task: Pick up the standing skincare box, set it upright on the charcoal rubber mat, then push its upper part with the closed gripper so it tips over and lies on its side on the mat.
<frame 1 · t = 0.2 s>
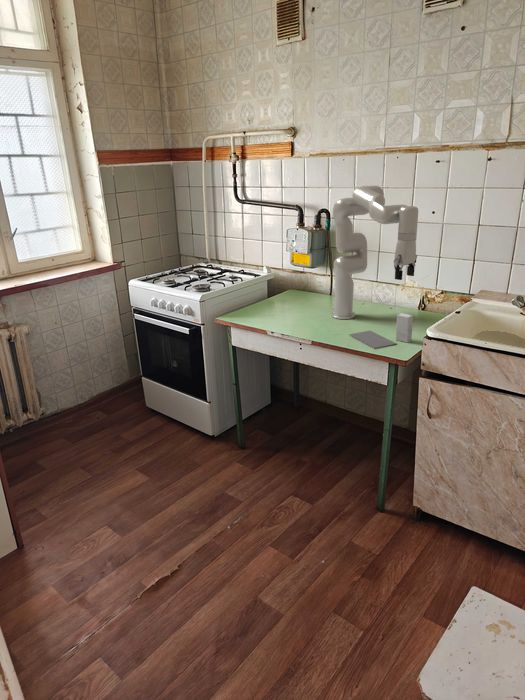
hand: (404, 277, 214), 30 cm above the table, tool pointing down, fingers open, 9 cm apart
mat: (372, 339, 228), on the table
skincare box: (403, 340, 227), on the table
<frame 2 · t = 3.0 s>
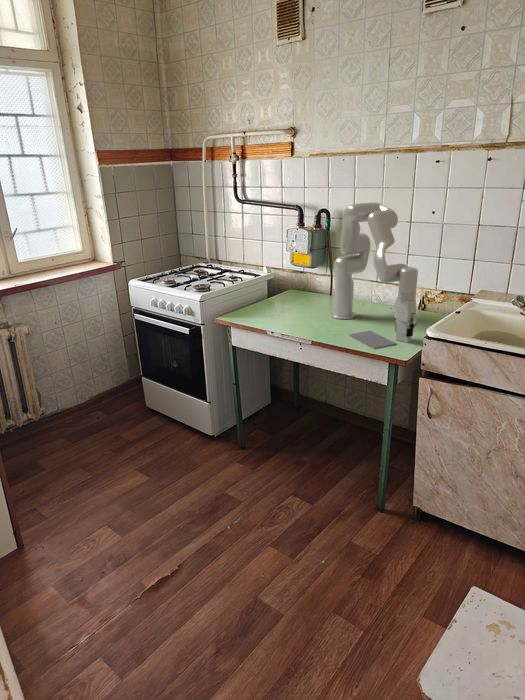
hand: (403, 333, 226), 3 cm above the table, tool pointing down, fingers closed on skincare box, 7 cm apart
skincare box: (403, 340, 227), on the table, touching gripper
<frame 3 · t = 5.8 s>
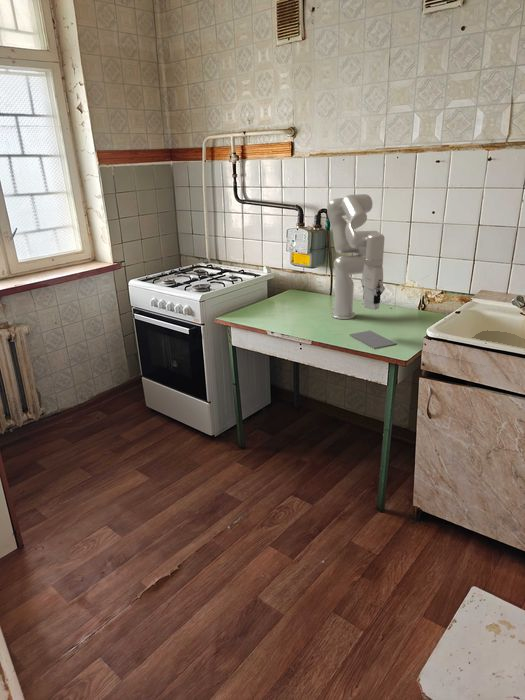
hand: (371, 301, 226), 17 cm above the table, tool pointing down, fingers closed on skincare box, 7 cm apart
skincare box: (370, 308, 228), point 14 cm above the table, touching gripper
when the fingers open (5 cm above the table, at t = 8.9 s): skincare box drops 1 cm, resting on mat.
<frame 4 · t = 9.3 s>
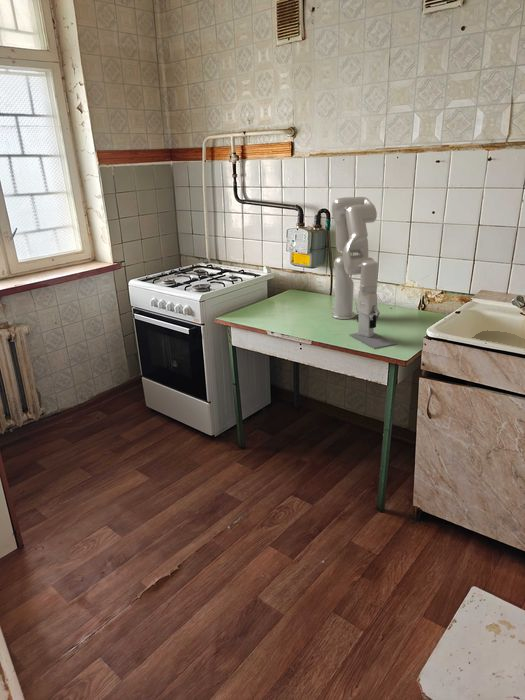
hand: (366, 324, 231), 6 cm above the table, tool pointing down, fingers open, 9 cm apart
skincare box: (365, 335, 233), resting on mat
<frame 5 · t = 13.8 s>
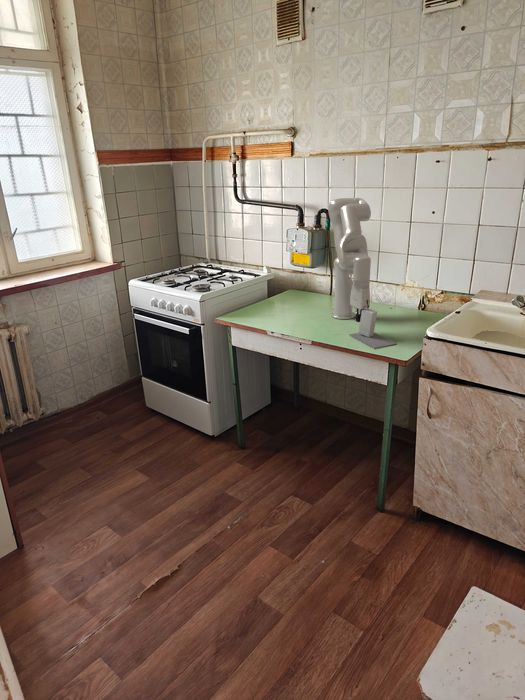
hand: (359, 321, 235), 6 cm above the table, tool pointing down, fingers closed
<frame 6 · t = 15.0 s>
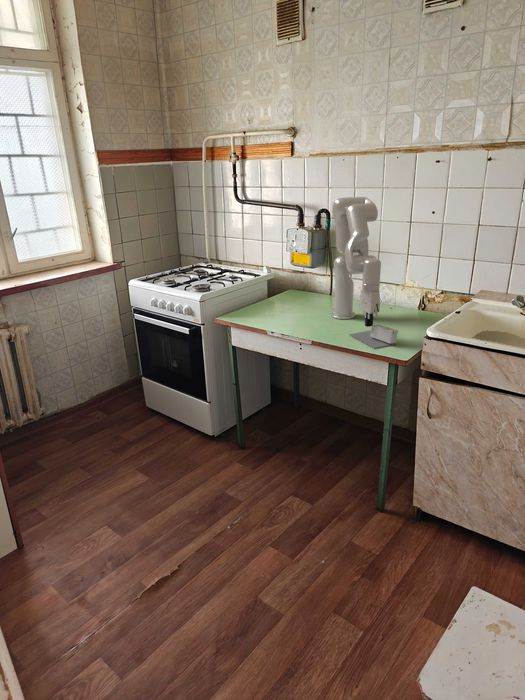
hand: (368, 325, 229), 6 cm above the table, tool pointing down, fingers closed
skincare box: (373, 329, 229), point 4 cm above the table, touching gripper
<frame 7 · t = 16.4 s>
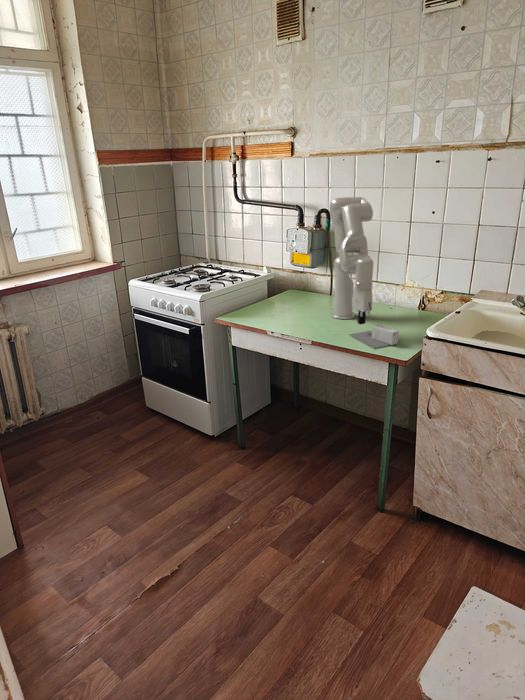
hand: (361, 323, 234), 5 cm above the table, tool pointing down, fingers closed
skincare box: (373, 331, 229), point 4 cm above the table, touching mat
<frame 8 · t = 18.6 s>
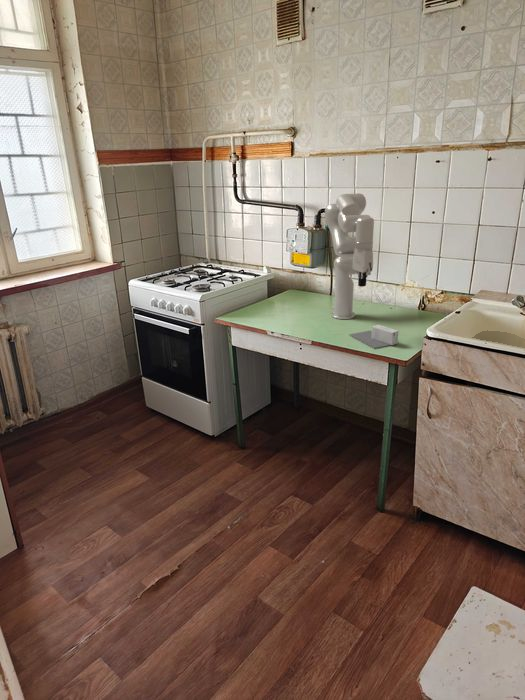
hand: (362, 285, 229), 23 cm above the table, tool pointing down, fingers closed
nothing on the table moved.
at the end: skincare box tilted 91°; skincare box inside the target area on the mat (1.6 cm from its centre), point 3.6 cm above the mat's base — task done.
